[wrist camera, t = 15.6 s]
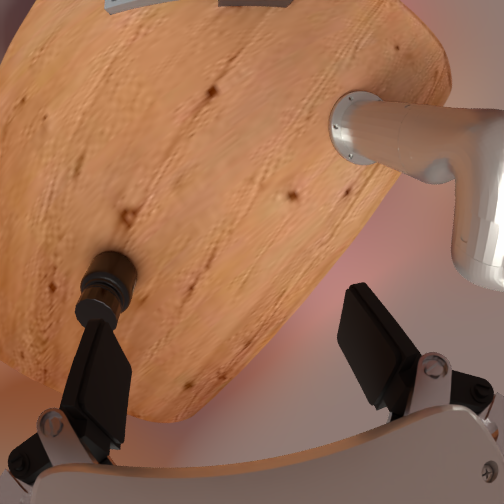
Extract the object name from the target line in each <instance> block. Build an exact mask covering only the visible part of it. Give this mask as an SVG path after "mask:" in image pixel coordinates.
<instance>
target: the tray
mask: <svg viewBox="0 0 504 504" xmlns="http://www.w3.org/2000/svg"><path fill="white" fill-rule="evenodd" d="M170 1H176V0H105V10H106V11H107V12H108V13H109V14H110V15H112V14H115V13H119V12H122V11H126V10H130V9H134V8H139V7H143V6H148V5H153V4H158V3H164V2H170Z"/></svg>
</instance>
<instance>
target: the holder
mask: <svg viewBox="0 0 504 504" xmlns="http://www.w3.org/2000/svg"><path fill="white" fill-rule="evenodd" d="M292 1H293V0H218V7H221V6H270V7H285V8H286V7H287V6H288V5H289V4H290V3H291V2H292Z"/></svg>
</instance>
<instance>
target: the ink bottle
mask: <svg viewBox="0 0 504 504" xmlns="http://www.w3.org/2000/svg"><path fill="white" fill-rule="evenodd" d="M136 281H137V275H136V271H135V268H134V266H133V265H132V263H131V262H130V261H129V260H128V259H127V258H126V257H125V256H123V255H121V254H119V253H116V252H105V253H102V254H99V255H98V256H96V257H95V258H94V260H93V261H92V263H91V264H90V266H89V268H88V270H87V271H86V273H85V275H84V277H83V278H82V281H81V285H80V289H81V296H80V298H79V300H78V302H77V304H76V308H75V314H76V317H77V320H78V321H79V322H80V323H81V325H82V326H83V327H85V328H86V325H87V322H88V321H89V320H90V319H104V321H105V322H108V323H109V325H110V327H111V329H112V331H113V330H114V329H116V326H117V323H118V319H119V316H120V313H122V312H124V311H125V310H126V309H127V308H128V307H129V305H130V302H131V299H132V295H133V292H134V288H135V285H136Z"/></svg>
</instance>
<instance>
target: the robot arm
mask: <svg viewBox="0 0 504 504" xmlns="http://www.w3.org/2000/svg"><path fill="white" fill-rule="evenodd" d="M333 126H335V127H334V128H333ZM329 133H330V137H331V141H332V143H333V145H334V147H335V149H336V150H337V151H338V153H339V154H340V155H341V156H342V157H343V158H345V159H346V160H348V161H350V162H352V163H354V164H358V165H370V164H374V163H376V162H378V163H380V164H383V165H385V166H387V167H390V168H392V169H395V170H397V171H399V172H402V173H404V174H406V175H409V176H411V177H413V178H415V179H418V180H420V181H422V182H425V183H428V184H443V183H446V182H449V181H451V180H453V179H455V211H454V222H453V230H452V241H451V257H452V261H453V264H454V266H455V268H456V270H457V271H458V272H459V273H460V274H461V275H462V276H463V277H464V278H465V279H467V280H468V281H470V282H472V283H473V284H476V285H478V286H481V287H484V288H487V289H492V290H497V291H503V292H504V110H499V109H467V108H451V107H441V106H433V105H423V104H414V103H404V102H390V101H383V100H382V99H381V98H380V97H378V96H377V95H375V94H373V93H370V92H366V91H355V92H351V93H348V94H346V95H344V96H343V97H341V98H340V99H339V100H338V101H337V103H336V104H335V105H334V107H333V109H332V112H331V114H330V119H329ZM348 156H349V157H348ZM337 340H338V344H339V346H340V348H341V350H342V352H343V353H344V355H345V357H346V359H347V361H348V363H349V365H350V366H351V368H352V370H353V372H354V374H355V376H356V378H357V380H358V382H359V384H360V386H361V388H362V390H363V392H364V394H365V395H366V398H367V400H368V402H369V403H370V404H371V405H374V406H375V408H376V410H379V409H382V408H384V407H387V408H388V410H389V411H390V413H389V417H388V420H387V423H386V424H384V425H382V426H379V427H377V428H374V429H371V430H369V431H366V432H363V433H360V434H358V435H355V436H352V437H350V438H346V439H343V440H340V441H337V442H334V443H331V444H327V445H323V446H320V447H316V448H313V449H309V450H305V451H301V452H297V453H292V454H288V455H284V456H279V457H274V458H268V459H263V460H257V461H250V462H244V463H236V464H228V465H217V466H205V467H186V468H150V467H128V466H117V465H116V464H115V463H114V462H113V460H112V459H111V457H110V456H109V452H110V449H116V450H120V445H121V444H122V443H123V442H124V437H125V426H126V416H127V407H128V398H129V390H130V383H131V376H132V369H131V365H130V363H129V362H128V360H127V358H126V356H125V354H124V352H123V351H122V349H121V347H120V345H119V343H118V341H117V339H116V337H115V335H114V333H113V331H112V329H111V327H110V325H109V323H108V322H105V321H104V319H90V320H89V321H88V322H87V325H86V328H85V330H84V333H83V336H82V338H81V341H80V344H79V347H78V350H77V353H76V355H75V357H74V360H73V363H72V366H71V369H70V373H69V376H68V379H67V382H66V386H65V389H64V393H63V397H62V400H61V404H60V408H59V409H57V408H49V409H47V410H45V411H44V412H42V413H41V415H40V416H39V418H38V420H37V433H36V434H34V435H33V436H31V437H30V438H29V439H27V440H26V441H25V442H23V443H22V444H21V445H19V446H18V447H16V448H15V449H14V450H13V451H12V452H11V453H10V455H9V458H8V467H9V470H7V469H5V470H4V472H3V473H2V475H1V476H0V504H504V396H503V395H501V394H499V393H498V392H497V393H496V394H494V391H493V388H492V386H491V384H490V383H489V382H488V381H487V380H485V379H483V378H480V377H476V376H472V375H469V374H465V373H461V372H458V371H454V370H452V368H451V365H450V362H449V361H448V359H447V358H446V357H445V356H443V355H442V354H439V353H437V352H429V353H426V354H424V355H421V354H420V352H419V351H418V349H417V348H416V347H415V345H414V344H413V343H412V341H411V340H410V339H409V337H408V336H407V335H406V333H405V332H404V331H403V329H402V328H401V327H400V326H399V324H398V323H397V322H396V320H395V319H394V318H393V316H392V315H391V314H390V313H389V312H388V310H387V309H386V308H385V306H384V305H383V304H382V303H381V302H380V300H379V299H378V298H377V296H376V295H375V294H374V293H373V292H372V290H371V289H370V288H369V287H368V286H367V284H366V283H364V282H362V283H358V284H353V285H350V287H349V289H347V290H346V293H345V299H344V304H343V310H342V314H341V319H340V324H339V329H338V334H337Z"/></svg>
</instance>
